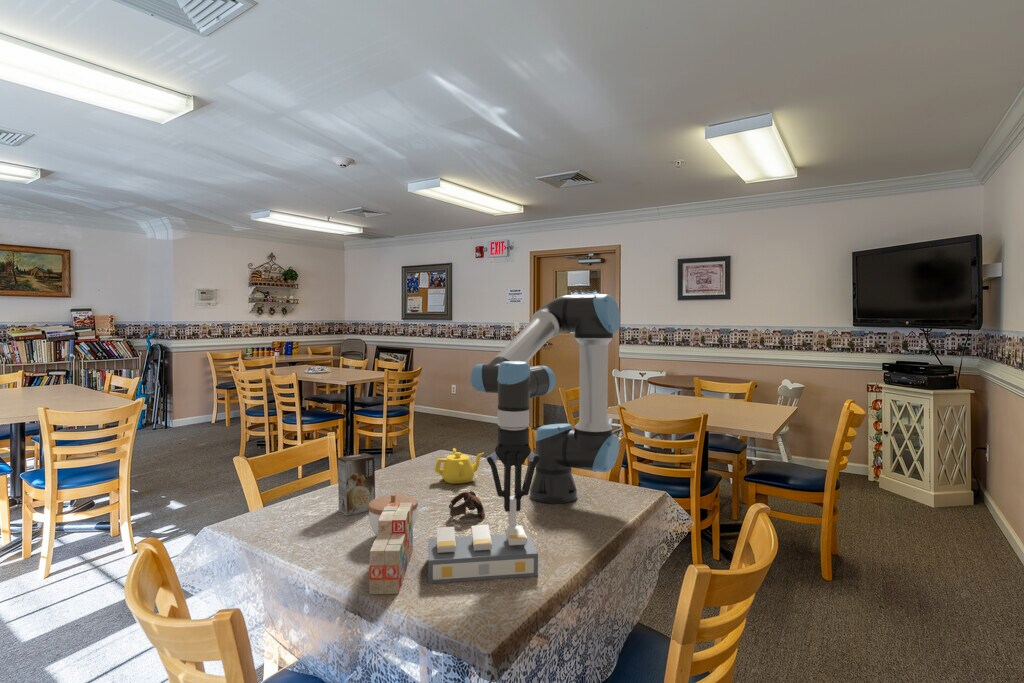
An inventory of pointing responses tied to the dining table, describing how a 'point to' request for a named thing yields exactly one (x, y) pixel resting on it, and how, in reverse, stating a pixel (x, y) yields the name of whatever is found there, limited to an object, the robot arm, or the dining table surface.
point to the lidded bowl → (379, 504)
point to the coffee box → (356, 483)
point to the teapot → (457, 468)
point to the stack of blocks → (391, 549)
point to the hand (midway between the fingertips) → (512, 523)
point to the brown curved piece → (466, 504)
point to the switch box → (481, 560)
